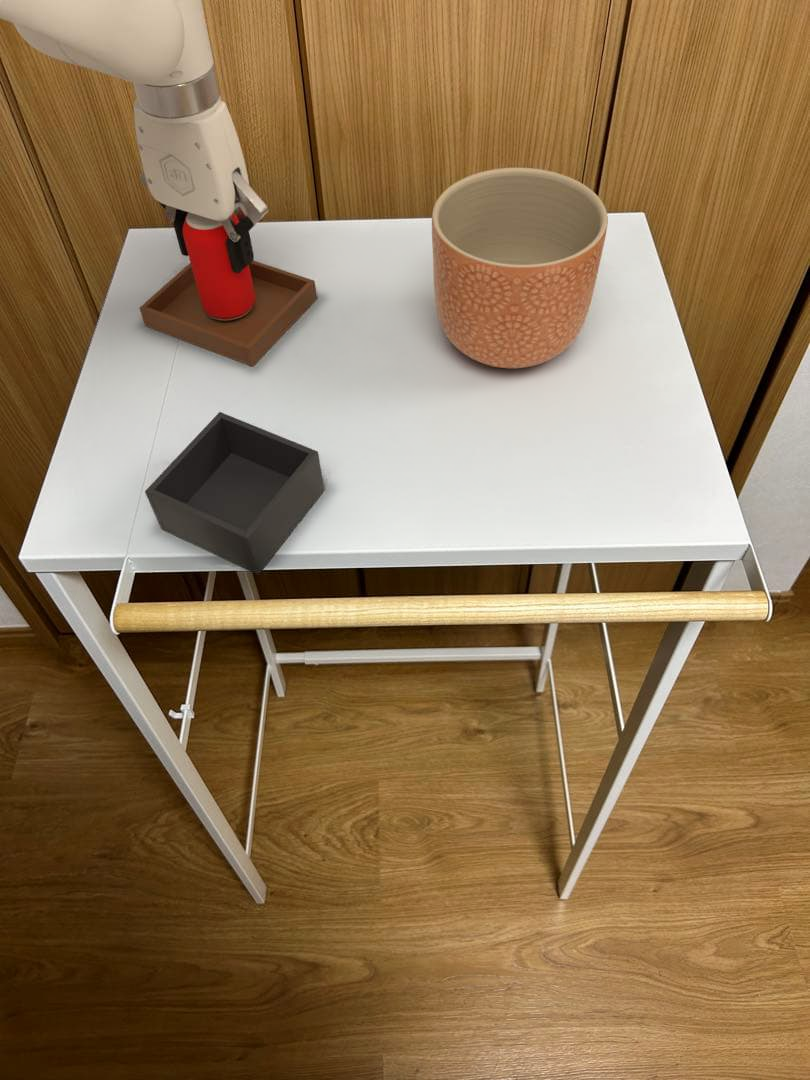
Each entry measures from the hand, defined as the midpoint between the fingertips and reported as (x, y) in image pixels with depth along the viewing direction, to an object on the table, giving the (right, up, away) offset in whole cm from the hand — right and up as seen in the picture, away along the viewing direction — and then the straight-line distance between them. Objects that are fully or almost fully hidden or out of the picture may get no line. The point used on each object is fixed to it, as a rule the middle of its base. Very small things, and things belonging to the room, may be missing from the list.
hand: (217, 256), depth 91 cm
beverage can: (0, -4, +6) cm, 7 cm away
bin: (+5, -28, -11) cm, 31 cm away
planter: (+32, -8, +2) cm, 33 cm away
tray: (0, -4, +6) cm, 8 cm away
